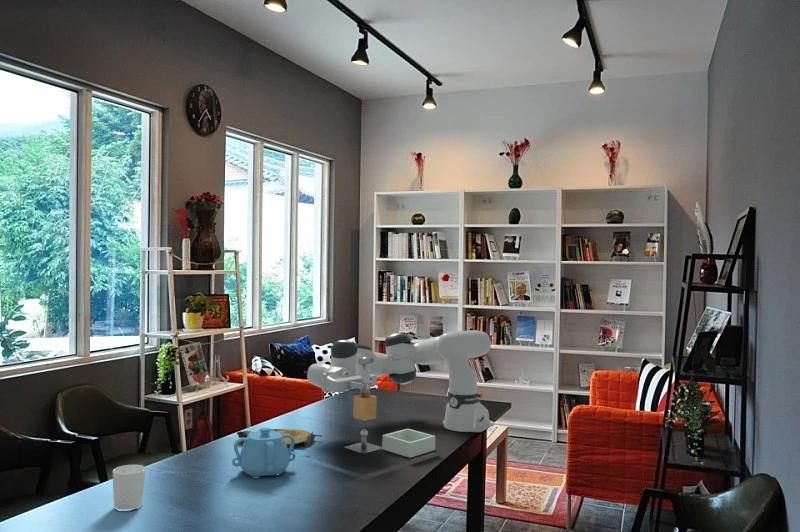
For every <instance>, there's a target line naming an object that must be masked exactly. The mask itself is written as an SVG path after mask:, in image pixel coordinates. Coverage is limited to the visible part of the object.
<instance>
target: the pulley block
mask: <svg viewBox="0 0 800 532" xmlns="http://www.w3.org/2000/svg"><path fill="white" fill-rule="evenodd" d="M270 429H271V430H272V431H277V432H279V433H280V434H281V435H284V434H289V435H291V436H293V437H294V440H295V443H294V447H293V450H294V449H295V450H303V451H307V449H305V448H308V447H309V446H310V445H313V444H314V440H315V438H316V437H321V438H323V435H320V434H315V433H314V431H312V432H310V431H308V430H304V429H297V428H270ZM251 432H253V431H251V430H244V431H243V430H241V431H236V435H237V436H238V439H240V438H247V436H248V434H249V433H251ZM284 441H285V443H286V445H287V448H288V450H289V447H290V444H291V439H290V438H288V437H287V438H284ZM293 450H292V451H293ZM293 452H294V451H293Z"/></svg>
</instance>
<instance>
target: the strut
mask: <svg viewBox="0 0 800 532" xmlns="http://www.w3.org/2000/svg"><path fill="white" fill-rule="evenodd" d="M373 362H374V359H373V358H372V357H366V358H360V359H359V364H360V365H362V372H361V383H364V388H363V389H360V394H357V395H353V405H352V406H353V409H352V410H353V411H352V418H354V419H356V420H360V421H363V422H366V421H369V420H374V419H376V418H377V395H372V394H370V393H371V392H370V390H371V387H370V364H372V363H373Z"/></svg>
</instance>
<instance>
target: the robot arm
mask: <svg viewBox="0 0 800 532" xmlns="http://www.w3.org/2000/svg"><path fill="white" fill-rule="evenodd" d="M413 340H414V339H413V338H411V337H409V336H408V335H407V334H405V333H401V332H398V333H397V332H395V333H392V334H389V335H388V336H387V337H386V338H385V339H384V347H385V353H382V352H375V351H373V350H372V348H371V347H370V346H369V345H366V344H361V343H357V342H353V341H351V340H347V339H341V340H339V339H338V340H336V341H334V343H333V344H332V345H331V346H330V355H331V356H330V357H331V358H330V364H327V363H313V364H311V365H310V366H309V367H308V370H307V374H306V377H307V378H306V379H307V381H308V382H309V383H310V384H311V385H312V386H315V387H318V388H321V391H322V392H324V393H331V392H332V393H346V392H347V391H349V390H356V389H359V390H361V389H363V388H364V383H361V372H362V365H360V364H359V359H360V358H366V357H372V358H373V359H374V362H373V363H372V364H370V388H372V387H374V386H376V385H377V382H378V381H377V380H378V378H381V377H382V376H385V375H388V376H387V379H389V380H390V381H392V382H393V383H395V384H396V385H408V384H410V383H412V382H413V381H415V380H416V378H417V370H416V366H415V363H416V364H418V365H421V366H430V365H437V364H442V363H445V364H446V367H447V369H448V370H447V371H448V383H449V384H448V392H447V401H448V402H447V403H446V405H445V414H444V420H442V425H443V428H445V429H447V430H450V431H453V432H462V433H464V432H465V433H468V432H469V433H470V432H471V433H482V432H483V431H487V430H488V429H489V428H491V427H493V426H495V422H494V421H492V420H490V414H489V410H488V409H487V407H485V406H484V405H483V404H481V402H480V399H479V398H481V399H483V396H484V394H483V392H479V391H477V389H478V386H477V385H478V384H477V383H478V375H477V372H476V371H475V370H474V369H472V367H471V366H470V363H469V362H470V361H469V359H473V358H478V357H482V356H484V355H487V353H489V352H490V350H491V347H492V342H491V341H492V340H491V337H490V336H489V335H488V333H486V332H485V331H481V330H477V329H475V330H474V329H472V330H458V331H457V330H455V331H448V332H445V333H442V334H441V335H439V336H435V337H431V338H430V337H429V338H427V339H424V340H421V341H419V342H416V343H413V342H412V341H413Z"/></svg>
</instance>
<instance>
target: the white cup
mask: <svg viewBox="0 0 800 532" xmlns="http://www.w3.org/2000/svg"><path fill="white" fill-rule="evenodd" d="M145 476H146V467H145V466H144V465H141V464H126V465H125V464H124V465H121V466H117V467H116V468H114V469H112V492H113V495H112V496H113V508H114V507H115V508H117V509H123V510H124V509H133V508H137V507H139V506H141V505H142V506H143V498H144V497H143V496H144V491H145V490H144V489H145V478H146V477H145ZM142 506H141V507H142Z"/></svg>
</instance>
